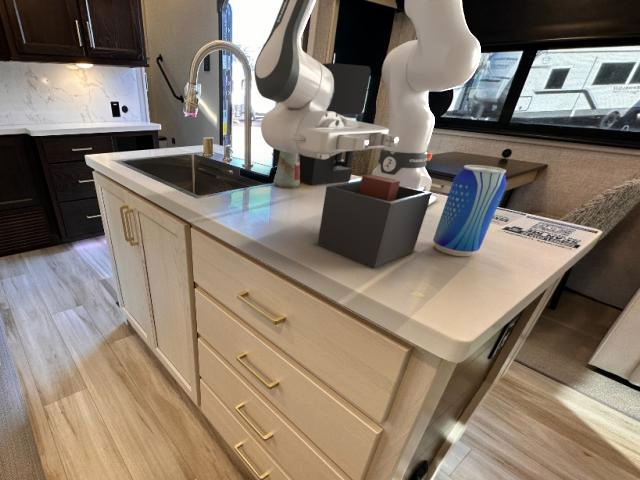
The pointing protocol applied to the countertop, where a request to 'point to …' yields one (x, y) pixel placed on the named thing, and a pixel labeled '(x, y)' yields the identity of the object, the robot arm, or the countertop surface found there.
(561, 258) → the countertop surface
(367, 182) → the packet
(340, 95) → the coffee maker
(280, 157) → the bottle
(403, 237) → the bin
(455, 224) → the beer can
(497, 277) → the countertop surface
